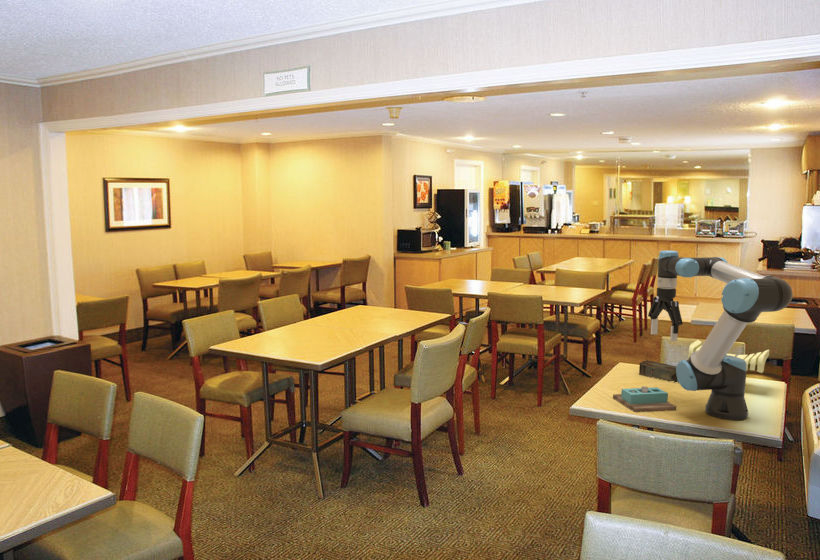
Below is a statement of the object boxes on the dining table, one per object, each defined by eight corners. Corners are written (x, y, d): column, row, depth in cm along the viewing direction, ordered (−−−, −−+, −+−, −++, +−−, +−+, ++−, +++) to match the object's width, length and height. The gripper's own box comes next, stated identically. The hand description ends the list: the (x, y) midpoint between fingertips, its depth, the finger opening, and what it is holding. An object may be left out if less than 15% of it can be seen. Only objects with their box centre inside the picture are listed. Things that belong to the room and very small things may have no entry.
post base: (676, 410, 255) (677, 393, 254) (634, 412, 252) (635, 394, 251) (652, 396, 273) (653, 380, 272) (612, 398, 270) (613, 381, 269)
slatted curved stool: (686, 383, 292) (688, 345, 290) (695, 376, 305) (697, 339, 302) (759, 396, 274) (763, 356, 272) (766, 388, 287) (769, 349, 284)
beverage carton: (677, 383, 292) (678, 369, 292) (637, 375, 306) (638, 361, 305) (684, 380, 298) (685, 366, 297) (645, 372, 312) (646, 359, 311)
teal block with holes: (656, 396, 267) (657, 387, 267) (667, 402, 260) (667, 393, 259) (621, 398, 265) (621, 388, 264) (630, 404, 257) (631, 394, 256)
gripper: (641, 283, 277) (638, 331, 280) (677, 292, 253) (674, 344, 256) (656, 283, 279) (653, 331, 282) (694, 291, 255) (690, 343, 258)
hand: (663, 337), depth 269 cm, fingers open, 13 cm apart
